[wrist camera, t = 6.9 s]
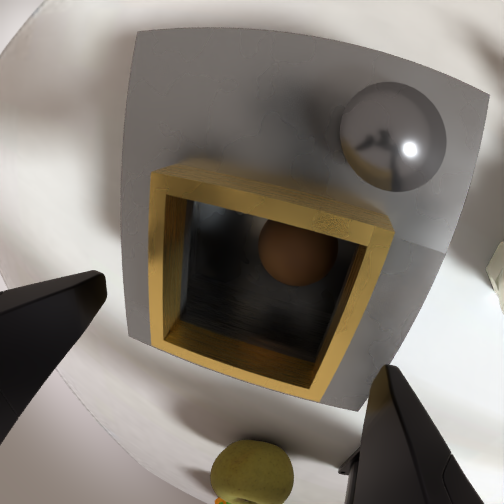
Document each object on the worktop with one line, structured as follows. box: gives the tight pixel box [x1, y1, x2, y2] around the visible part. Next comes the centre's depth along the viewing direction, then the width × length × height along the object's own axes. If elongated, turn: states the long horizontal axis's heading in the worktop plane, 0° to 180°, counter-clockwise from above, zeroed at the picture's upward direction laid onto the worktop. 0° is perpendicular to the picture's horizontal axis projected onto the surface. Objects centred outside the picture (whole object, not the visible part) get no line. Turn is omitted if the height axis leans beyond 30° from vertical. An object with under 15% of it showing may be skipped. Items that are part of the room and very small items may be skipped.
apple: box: [210, 440, 294, 504], centre depth 24 cm, size 8×8×7 cm
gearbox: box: [121, 28, 490, 412], centre depth 13 cm, size 14×12×8 cm
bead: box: [258, 219, 338, 286], centre depth 14 cm, size 4×4×4 cm
